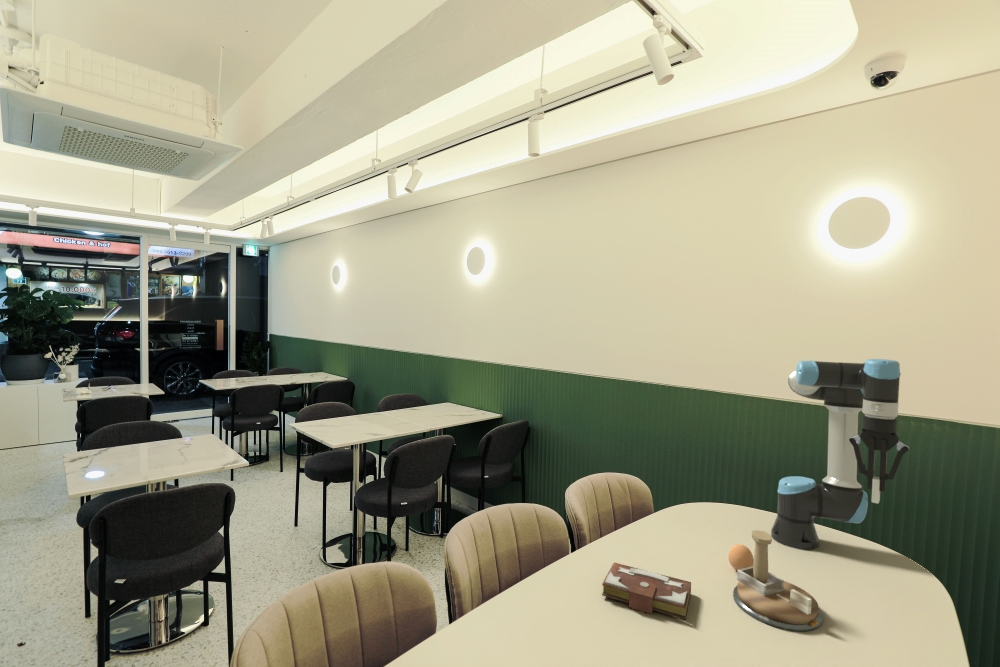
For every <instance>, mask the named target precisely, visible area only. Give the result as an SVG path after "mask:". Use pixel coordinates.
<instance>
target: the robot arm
mask: <svg viewBox="0 0 1000 667" xmlns="http://www.w3.org/2000/svg"><path fill="white" fill-rule="evenodd" d="M796 364H797V365H796V368H795V370H794V371H792V372H791V373H790V375H789V376H788V379H787V380H788V382H787V384H788V386H789V388H790V390H791V391H792V392H793V393H795V394H797V395H799V396H801V397H802V398H806V399H810V400H816V401H823V406H824V407H825V408H826V409H827V410H828V438H827V474H826V476H825V477H824V478H822V480H821V484H819V483H818V484H817V482H816V481H815V479H813V478H810V477H806V476H796V475H795V476H791V475H790V476H785V477H782V478H781V479H780V480H779V481H778V487H777V514H776V519H775V520H774V523H773V525H772V527H771V532H770V536H771V537H772V540H774V541H776V542H777V543H779V544H781V545H783V546H786V547H787V548H788V547H789V548H792V549H796V550H804V551H805V550H807V551H810V550H811V551H812V550H816V549H818V548H819V546H820V539H819V536H818V532H817V530H816V526H815V518H821V519H827V520H831V521H838V522H843V523H846V524H847V523H850V524H851V523H852V524H861V523H862V522H863V521H864V520H865V518H866V516H867V513H868V507H869V506H868V505H869V501H868V500H869V499H868V498H869V497H868V493H867V491H865V490H863V485H861V483H859V482H858V479H857V477H858V476H857V475H858V473H857V472H858V471H859V473H860V474H861V475H864V476H866V477H867V480H866V481H867V482H866V487H867V489H869V490H871V500H870V501H871V503H873V504H878V505H879V503H880V501H881V492H883V493H884V492H885V491H886V488H887V487H886V486H887V484H886V483H887V482H886V481H887V480H894V479H895V478H896V474H897V473H898V470H899V466H900V464H901V462H902V459H903V456H904V454H906V453H907V452H908V451H909V450H910V446H909V445H908V444H904V443H903V442H902V441H900V437H899V436H898V422H899V421H898V419H897V417H898V416H899V396H900V395H899V394H900V377H901V374H902V373H901V367H900V362H899V361H897V360H894V359H893V360H892V359H879V358H870V359H866V360H865V361H864V362H863V363H858V362H837V361H836V362H834V361H833V362H832V361H820V360H819V361H817V360H799V361H798V362H797V363H796ZM860 412H862V413H863V415H862V416H861V430H860V431H858V428H859V413H860ZM858 432H859V433H858ZM861 442H863V443H864V445H865V446H866V447H867V449H868V452H867V453H868V456H867V457H868V458H867V468H866V464H865V461H864V456H863V452H862V448H861ZM895 446H896V450H897V453H896V455H895V458H894V460H893V463H892V465H891V469H890V471H889V473H887V472H888V471H887V469H888V452H889V451H890V450H891V449H892V448H894V447H895ZM876 451H879V452H880V453H879V454H880V455H879V457H880V459H879V460H880V461H879V476H875V467H876V466H875V464H876Z"/></svg>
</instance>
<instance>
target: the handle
mask: <svg viewBox="0 0 1000 667" xmlns="http://www.w3.org/2000/svg"><path fill="white" fill-rule="evenodd" d="M751 538H752V540H753V541H754V542H755V543H754V552H753V553H754V554H753V559H754V562H753V575H754V578H755V579H756V580H758V581H760V582H761V583H763V584H766V583H767V582H766V581H767V577H768V572H769V545H771V544H772V542H773V538H772V537H771V534H769V533H768V532H766V531H763V530H758V529H755V530H754V529H753V530H752V532H751Z"/></svg>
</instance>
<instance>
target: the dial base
mask: <svg viewBox="0 0 1000 667" xmlns="http://www.w3.org/2000/svg"><path fill="white" fill-rule="evenodd" d="M732 593H733V596H732V597H733V601H734V603H735V604H736V605H737V607H738V608H739V609H740V610H742V611H743V612H744V613H745V614H746V615H748V616H750V617H751V618H753V619H755V620H757V621H759V622H760V623H763V624H765V625H767V626H770V627H773V628H776V629H780V630H785V631H789V632H790V631H791V632H799V633H800V632H801V633H802V632H805V633H806V632H811V631H815V630H818V629H819V628H820V627H821V626H822V625H823V617H824V616H823V615H824V614H823V613H822V611H821V609H820V608H819V610H818V618H817V619H816V620H815V621H814V622H812V623H808V624H789V623H784V622H779V621H776V620H773V619H770V618H768V617H765V616H763V615H761V614H758V613H756V612H755V611H753V610H751V609H750V608H748V607H747V606H746V605H745V604H744V603H743V602H742V601H741V600H740V599H739V597H738V594H737V585H736V586H735V587H734V589H733V592H732Z"/></svg>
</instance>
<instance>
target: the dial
mask: <svg viewBox="0 0 1000 667" xmlns="http://www.w3.org/2000/svg"><path fill="white" fill-rule="evenodd" d="M736 580H737V581H738V582H737V585H736V586H737V594H738V597H739V599H740V600H741V601H742V602H743V603H744V604H745V605H746V606H747V607H748V608H750V609H751V610H753V611H755V612H756V613H758V614H761V615H763V616H765V617H768V618H770V619H773V620H776V621H779V622H784V623H789V624H808V623H812V622H814V621H815V620H816V619H817V618H818V610H819V609H820V607H819V603H818V601H817V600H816V599H815V597H814V596H812V595H811V594H810V593H809V592H807V591H806V590H805V589H802V588H801V587H799V586H797V585H795V584H793V583H791V582H788V581H786V580H784V579H783V578H780V577H778V576H776V575H775V574H773V573H771V572H770V571H768V577H767V581H766V582H767V583H766V584H763V583H761V582H760V581H758V580H756V579H755V578H754V575H753V566H751V567H747V568H743V569H739V570H736Z"/></svg>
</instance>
